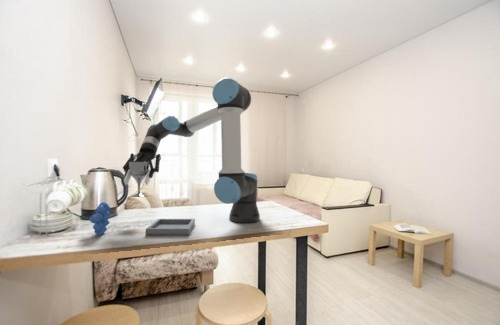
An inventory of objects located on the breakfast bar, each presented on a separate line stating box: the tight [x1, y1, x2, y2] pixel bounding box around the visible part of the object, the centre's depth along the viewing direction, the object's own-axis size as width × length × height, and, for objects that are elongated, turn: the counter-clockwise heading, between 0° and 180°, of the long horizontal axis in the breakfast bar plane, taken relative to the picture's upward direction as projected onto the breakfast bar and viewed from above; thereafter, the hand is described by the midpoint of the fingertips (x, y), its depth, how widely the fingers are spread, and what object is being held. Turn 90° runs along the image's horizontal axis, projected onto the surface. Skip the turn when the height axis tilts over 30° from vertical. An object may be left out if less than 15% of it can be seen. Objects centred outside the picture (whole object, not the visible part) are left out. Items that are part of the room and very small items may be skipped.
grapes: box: [88, 201, 111, 237], centre depth 86 cm, size 12×7×12 cm, turn 16°
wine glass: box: [129, 162, 150, 198], centre depth 101 cm, size 8×8×15 cm
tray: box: [145, 218, 196, 237], centre depth 94 cm, size 16×15×3 cm
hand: (135, 182), depth 98 cm, fingers closed on wine glass, 8 cm apart
